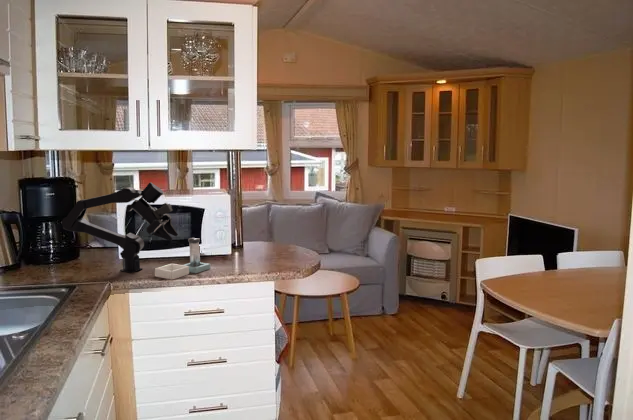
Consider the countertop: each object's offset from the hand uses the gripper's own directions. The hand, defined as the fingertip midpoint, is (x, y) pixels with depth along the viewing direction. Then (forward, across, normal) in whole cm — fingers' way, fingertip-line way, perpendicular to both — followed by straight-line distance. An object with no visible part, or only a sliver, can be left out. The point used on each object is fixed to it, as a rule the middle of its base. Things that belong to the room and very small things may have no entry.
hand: (174, 237), depth 211 cm
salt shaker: (+15, 0, +4) cm, 16 cm away
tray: (+10, -8, +9) cm, 16 cm away
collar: (+15, 0, +4) cm, 16 cm away
